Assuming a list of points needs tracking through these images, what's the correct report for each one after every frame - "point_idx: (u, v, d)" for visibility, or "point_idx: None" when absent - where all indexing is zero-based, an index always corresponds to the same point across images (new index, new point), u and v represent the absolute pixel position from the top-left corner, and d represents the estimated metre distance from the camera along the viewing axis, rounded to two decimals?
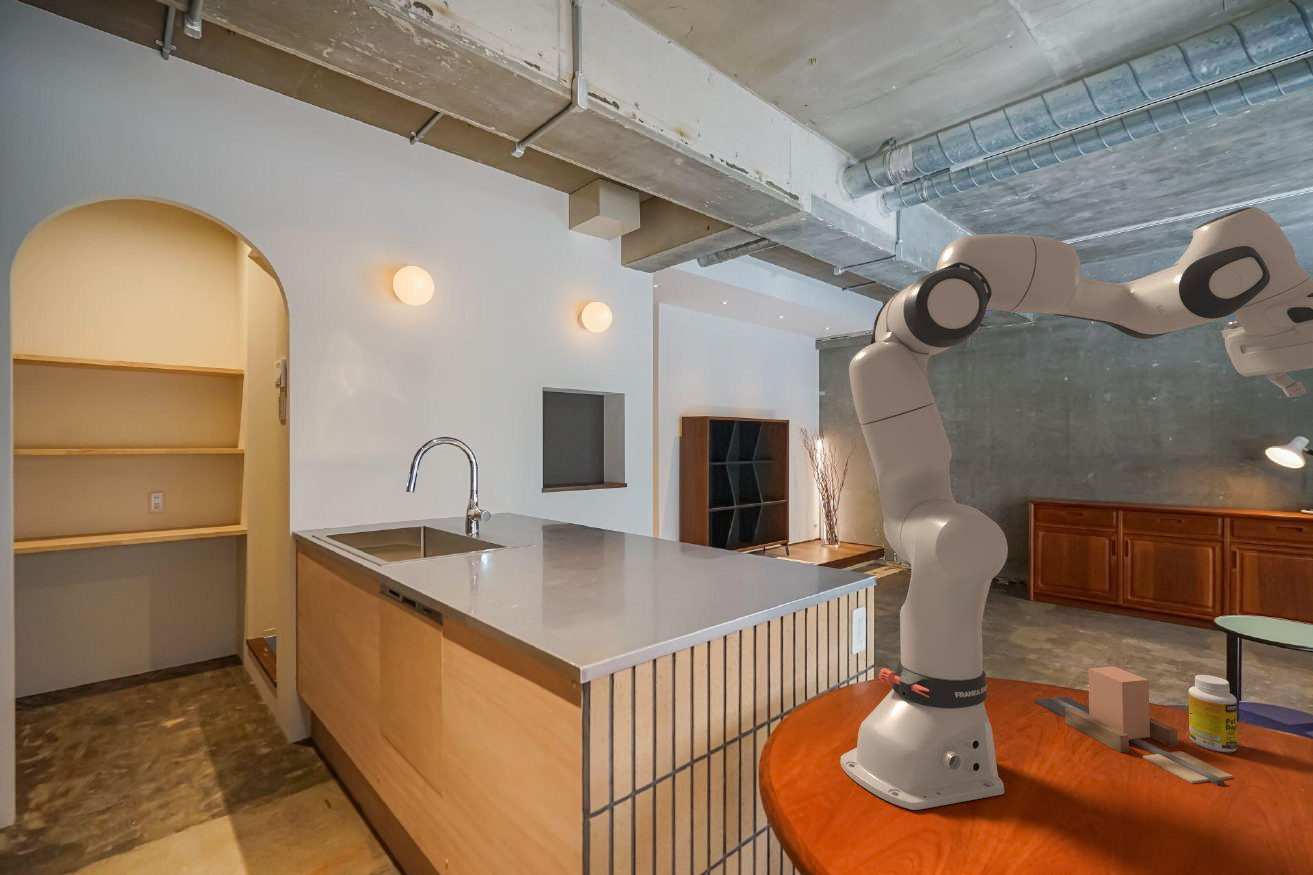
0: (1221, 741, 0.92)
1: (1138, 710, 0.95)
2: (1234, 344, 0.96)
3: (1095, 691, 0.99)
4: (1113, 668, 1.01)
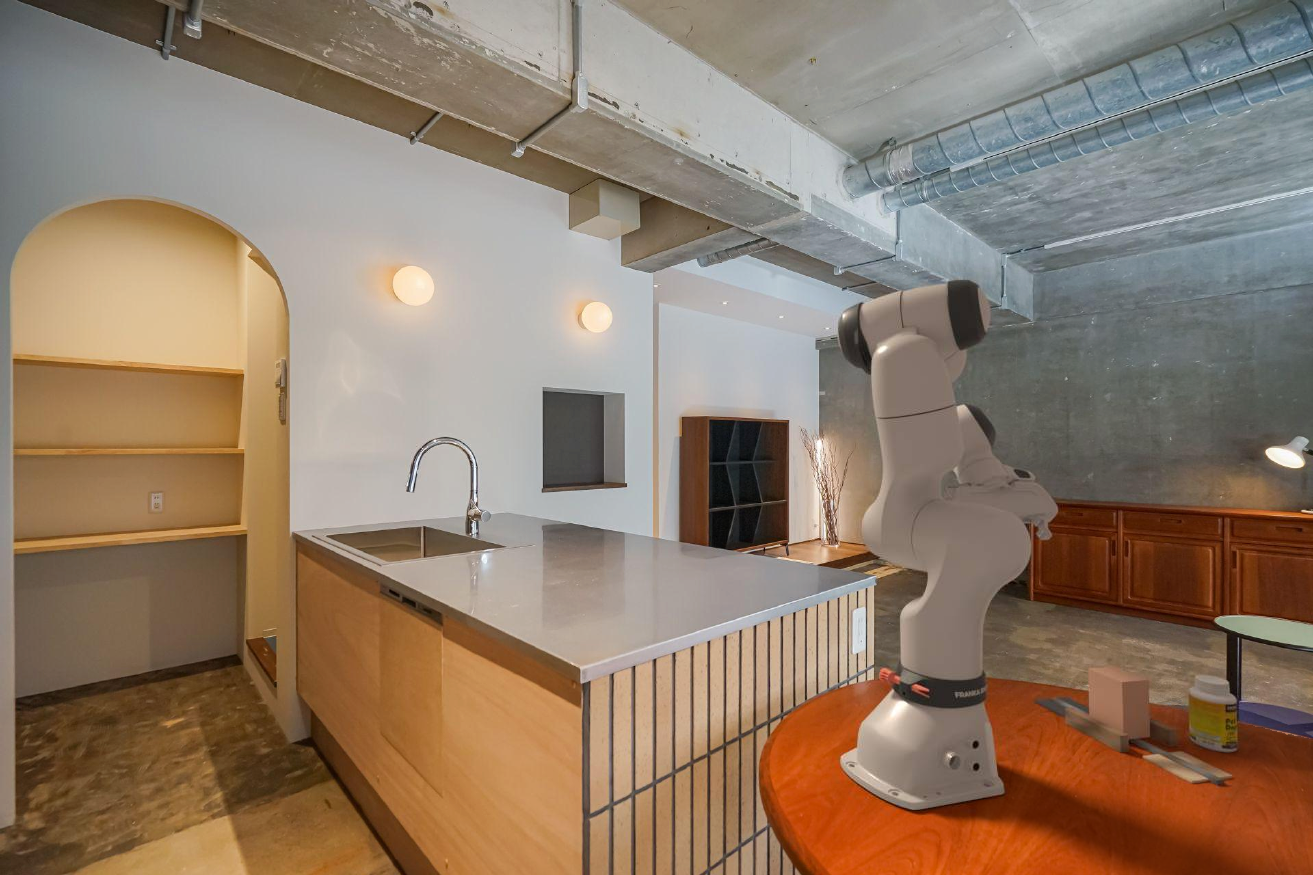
0: (1221, 741, 0.92)
1: (1138, 710, 0.95)
2: (965, 491, 1.18)
3: (1095, 691, 0.99)
4: (1113, 668, 1.01)
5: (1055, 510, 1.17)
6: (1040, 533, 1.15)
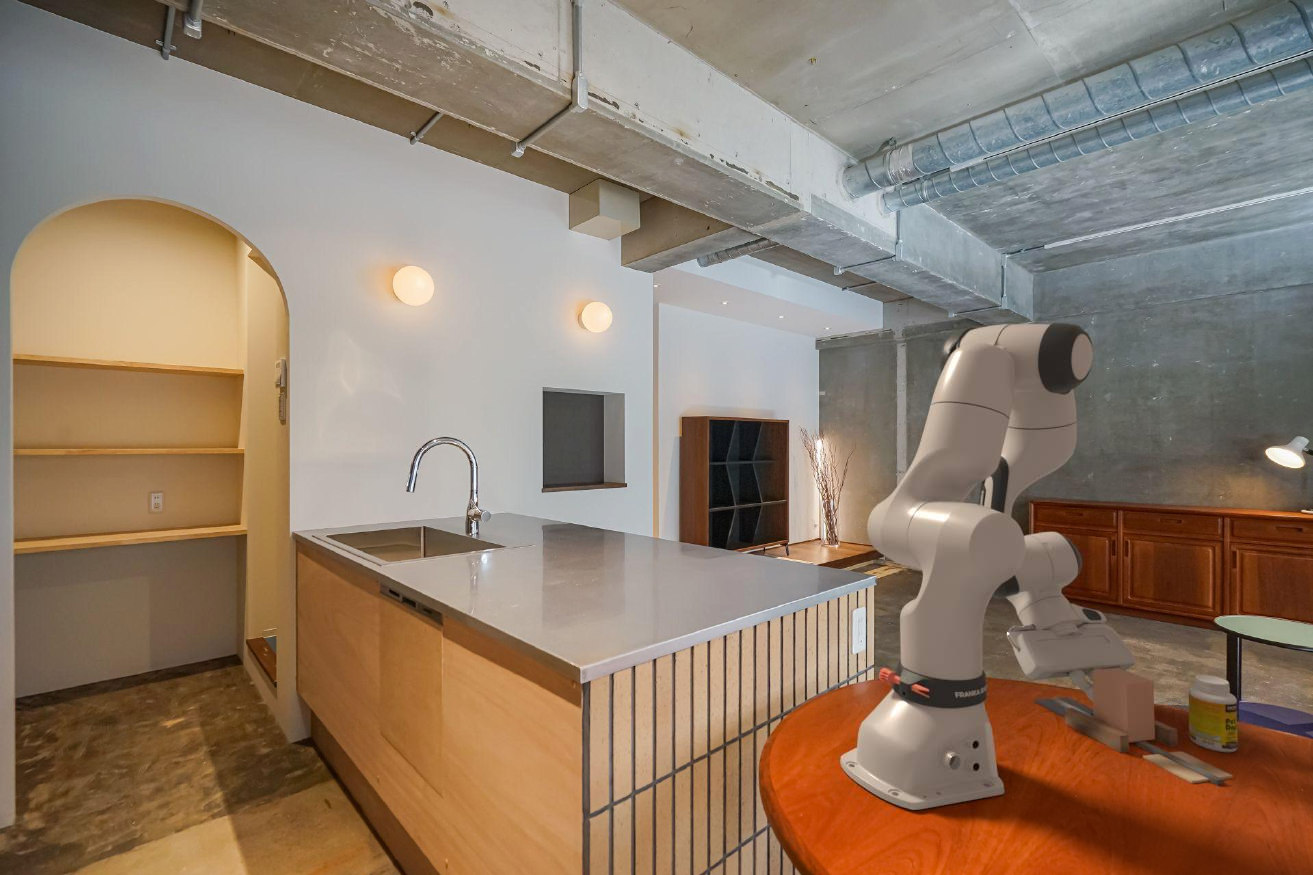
0: (1221, 741, 0.92)
1: (1142, 713, 0.95)
2: (1032, 638, 1.06)
3: (1099, 693, 0.99)
4: (1117, 670, 1.00)
5: (1132, 661, 1.05)
6: None
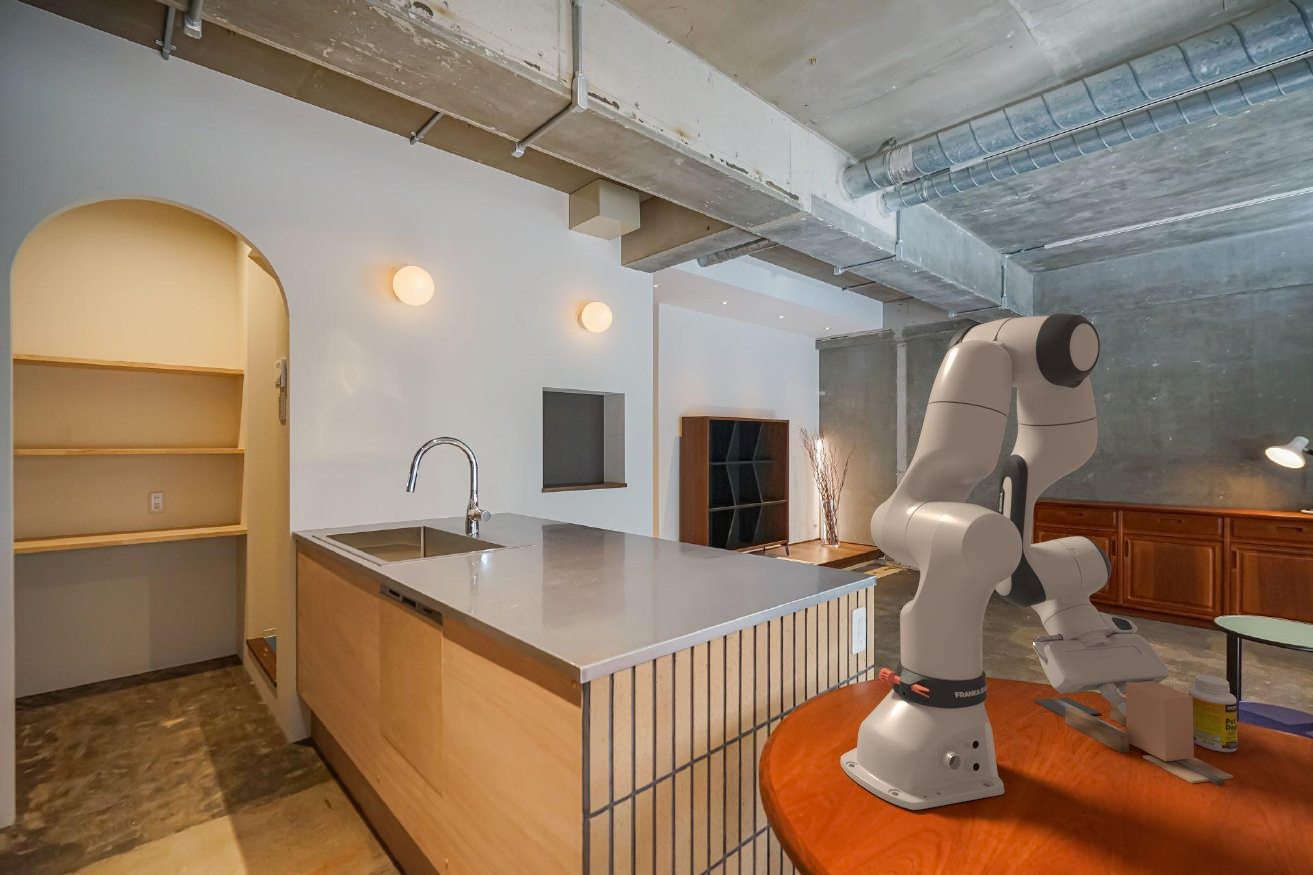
0: (1221, 741, 0.92)
1: (1181, 730, 0.89)
2: (1060, 649, 1.00)
3: (1133, 708, 0.93)
4: (1152, 683, 0.94)
5: (1166, 673, 0.99)
6: None
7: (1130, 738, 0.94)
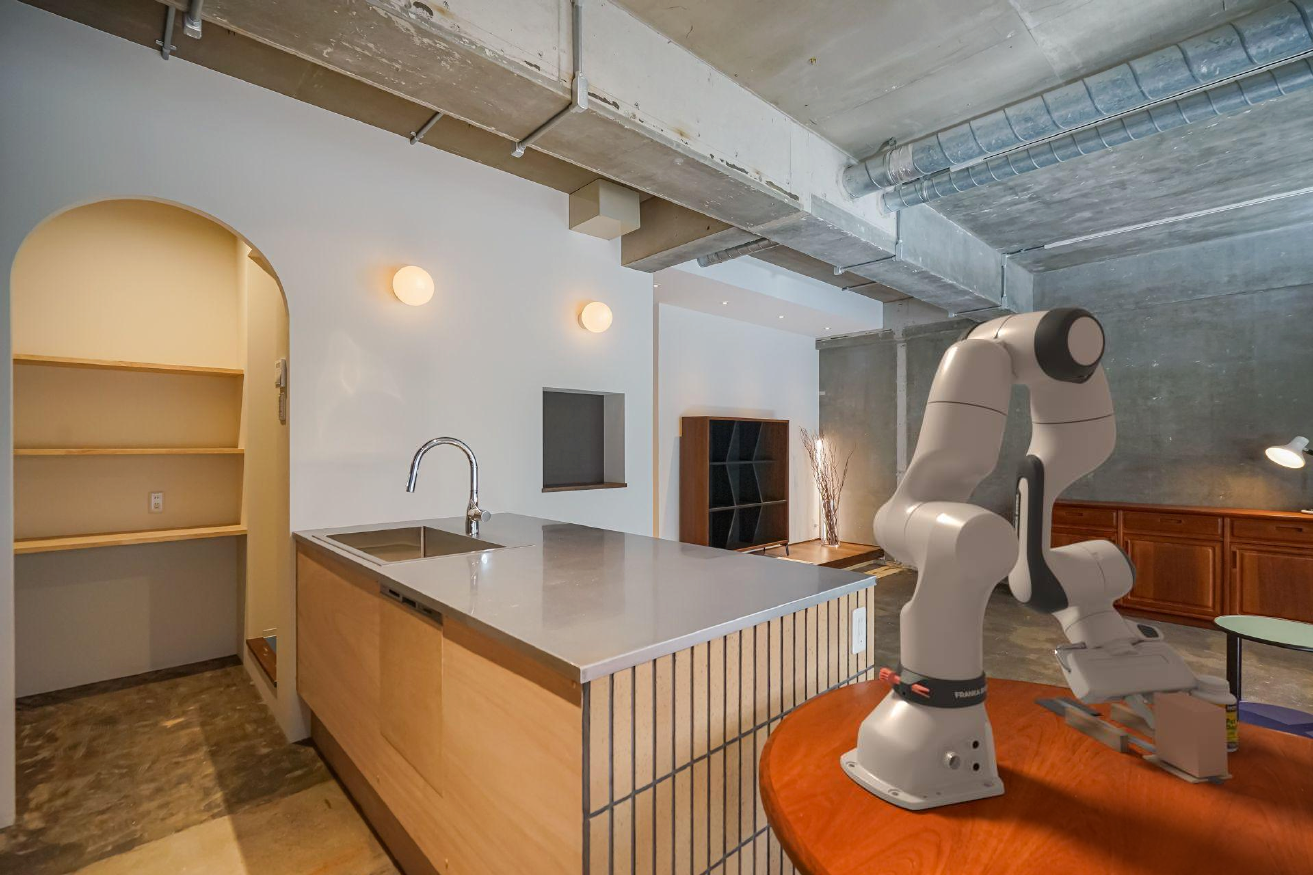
0: None
1: (1214, 744, 0.84)
2: (1084, 657, 0.96)
3: (1162, 721, 0.89)
4: (1182, 695, 0.90)
5: (1195, 683, 0.95)
6: None
7: (1159, 752, 0.89)
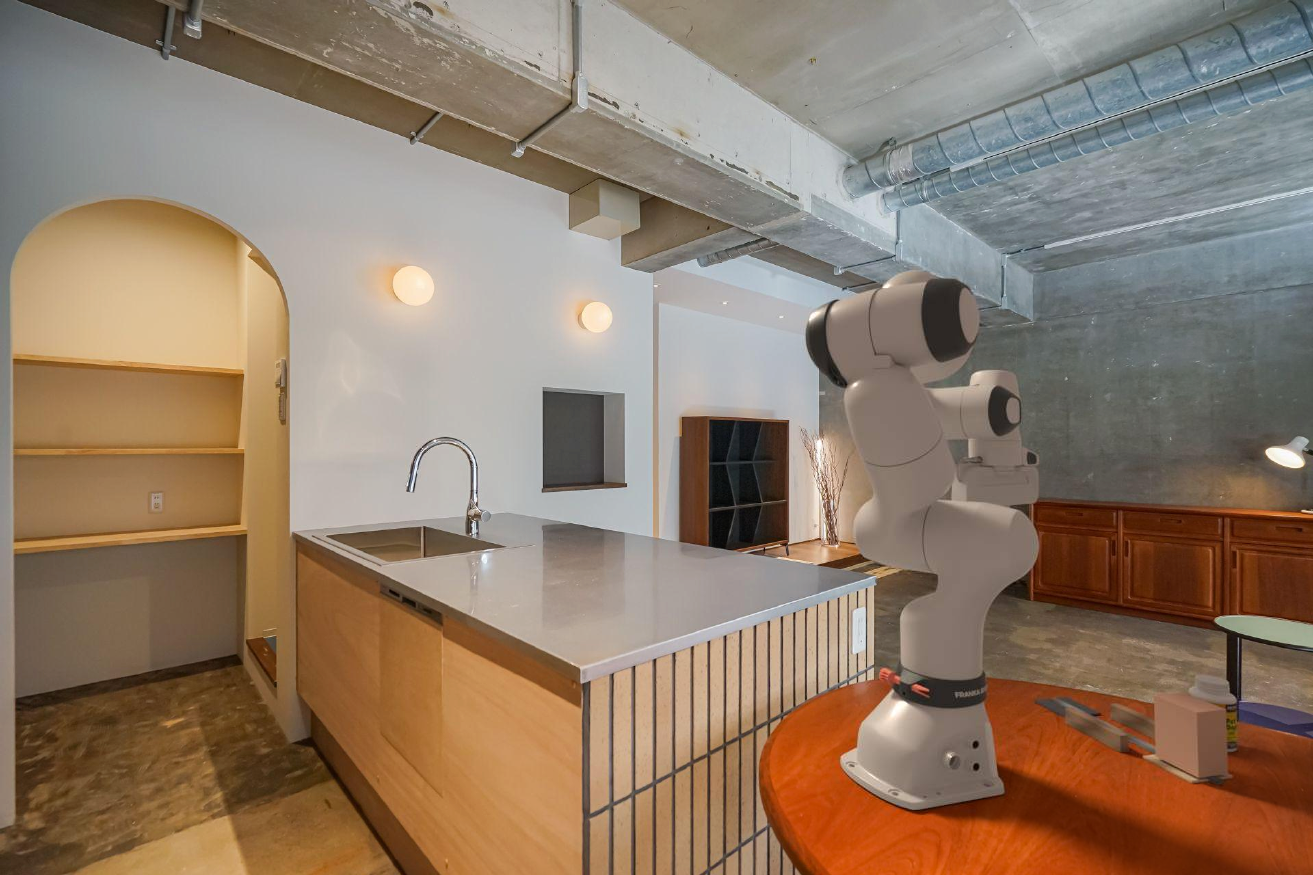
0: None
1: (1214, 744, 0.84)
2: (976, 475, 1.09)
3: (1163, 721, 0.89)
4: (1182, 695, 0.90)
5: (1034, 501, 1.16)
6: None
7: (1159, 752, 0.89)
